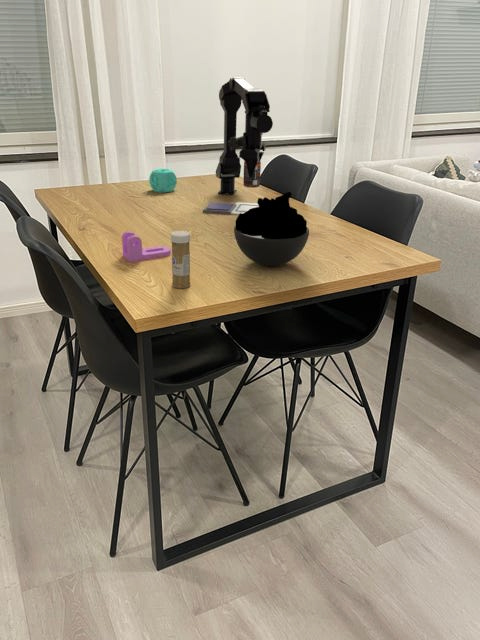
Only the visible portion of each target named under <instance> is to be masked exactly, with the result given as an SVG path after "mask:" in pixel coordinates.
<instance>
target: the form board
mask: <svg viewBox="0 0 480 640" xmlns="http://www.w3.org/2000/svg"><path fill="white" fill-rule="evenodd" d="M235 204H237V206H236V207H235V208H234V210H233V211H232V212H231V214H230V215H236V216H237V215H238V216H239V214H240V213H241V214H243V213H245V212H247V211H248V210H249V209H252V208H255V207H259V205H258V203H257V202H256V203H255V202H254V203H253V202H237V201H236V203H235Z"/></svg>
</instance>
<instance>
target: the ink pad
mask: <svg viewBox="0 0 480 640" xmlns="http://www.w3.org/2000/svg"><path fill="white" fill-rule="evenodd" d="M236 206H237V204H236V203H231V202H230V203H229V202H228V203H226V202H216V201H215V202H214V201H212V202H209V203H208V204H207V205H206V206H205V207H204V208H203V209H202V213H206V214H219V215H220V214H221V215H232V214H231V212H232V211H233V210H234V208H235V207H236Z"/></svg>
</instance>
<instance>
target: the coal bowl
mask: <svg viewBox="0 0 480 640" xmlns="http://www.w3.org/2000/svg"><path fill="white" fill-rule="evenodd" d="M291 197H292V193H291V192H290V191H287V192H286V193H283V194H282V195H280V196H276V197H275V198H268V197H265V196H264V197H263V198H262V197H259V198H257V202H256V204H258V205H259V207H255V208H252V209H249V210H248V211H247V212H245V213H243V214H241V213H240V214H239V215H238V216H237V217H236V220H235V225H234V227H233V233H234V238H235V242H236V244H237V245H238V248H239V249H240V251H241V252H242V254H243V255H244V256H245V257H247V258H248V259H249V260H251V261H252V262H254V263H256V264H257V265H261V266H266V267H276V266H282V265H285V264H288V263H289V262H291V261H292V260H294V259H295V258H297V257H298V256H299V254H300V253H302V251H303V250H304V247H306V245H307V242H308V239H309V237H310V229H309V227H307V224H308V222H307V220H306V219H305V217H304V216H303V215H302V214H300V213H298V209H297V208H295V207H292V206H291V205H290V198H291Z"/></svg>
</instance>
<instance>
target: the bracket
mask: <svg viewBox="0 0 480 640" xmlns="http://www.w3.org/2000/svg"><path fill="white" fill-rule="evenodd" d="M142 243H143V241H142V239H141V238H140V237H139V236H138V235H136V234H135V233H134V232H132V231H130V230H128V231H127V230H126V231H125V232H124V233H122V236H121V244H122V256H123V257H124V258H125V259H126V260H127V261H128V262H138V261H143V260H148V259H156V258H157V257H158V258H162V257H168V256H170V255H172V248H170V247H169V246H165V245H164V246H162V245H158V246H151V247H144V248H143V244H142Z"/></svg>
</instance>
